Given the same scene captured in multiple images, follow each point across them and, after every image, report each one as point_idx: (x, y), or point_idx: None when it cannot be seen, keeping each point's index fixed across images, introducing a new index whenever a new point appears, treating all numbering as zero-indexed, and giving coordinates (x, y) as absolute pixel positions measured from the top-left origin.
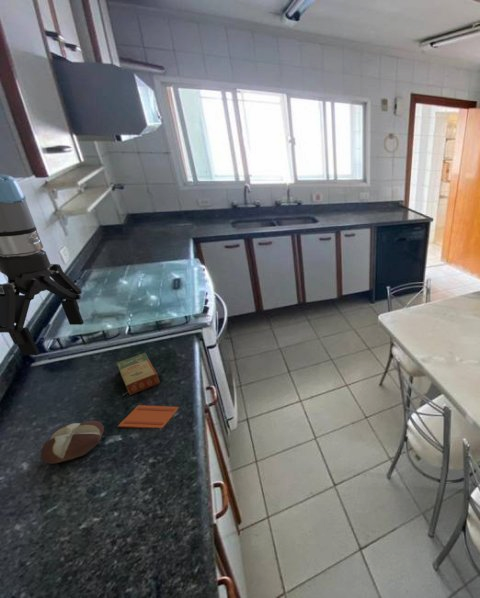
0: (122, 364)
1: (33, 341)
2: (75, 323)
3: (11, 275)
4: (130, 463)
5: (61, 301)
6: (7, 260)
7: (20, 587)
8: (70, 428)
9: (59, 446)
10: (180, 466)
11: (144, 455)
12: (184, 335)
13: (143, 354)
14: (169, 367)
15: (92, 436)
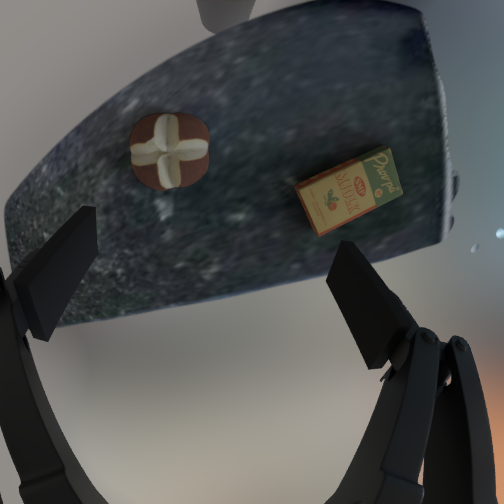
0: (378, 162)
1: (74, 287)
2: (335, 264)
3: None
4: (115, 248)
5: (401, 325)
6: None
7: (5, 213)
8: (178, 146)
9: (139, 150)
10: (110, 302)
11: (127, 260)
12: (441, 232)
13: (398, 193)
14: (352, 233)
15: (157, 188)
